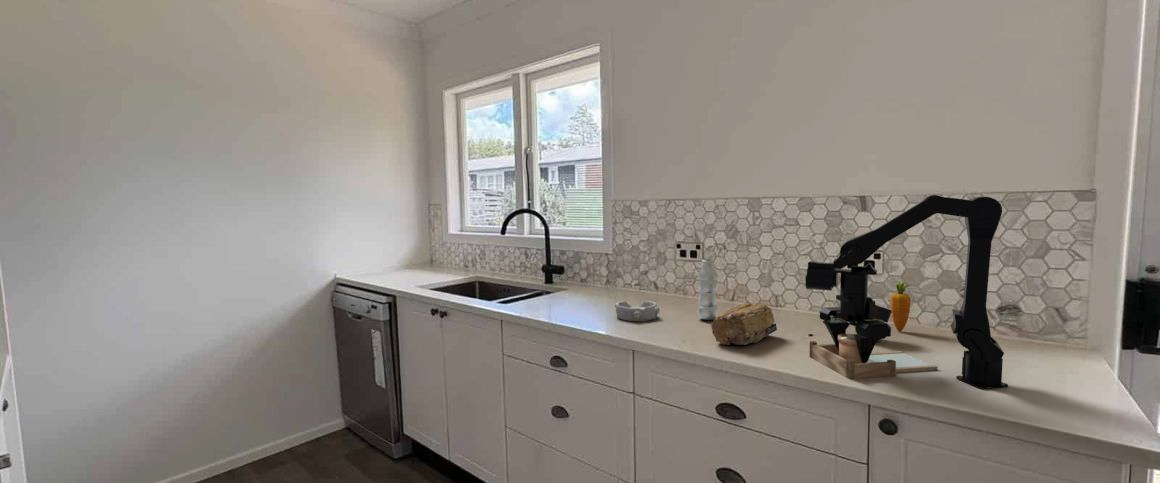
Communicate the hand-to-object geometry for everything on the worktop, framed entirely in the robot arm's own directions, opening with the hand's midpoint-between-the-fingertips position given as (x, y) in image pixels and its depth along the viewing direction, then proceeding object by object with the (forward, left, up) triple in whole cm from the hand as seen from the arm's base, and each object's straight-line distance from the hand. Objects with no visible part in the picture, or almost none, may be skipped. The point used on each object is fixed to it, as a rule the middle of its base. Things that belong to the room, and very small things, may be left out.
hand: (852, 356), depth 123 cm
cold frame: (0, 0, -2) cm, 2 cm away
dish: (+58, +39, -3) cm, 70 cm away
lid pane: (0, -12, -2) cm, 12 cm away
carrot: (+25, -32, -2) cm, 40 cm away
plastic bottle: (+50, +17, -2) cm, 53 cm away
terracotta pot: (0, 0, -2) cm, 2 cm away
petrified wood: (+26, +16, -2) cm, 31 cm away
